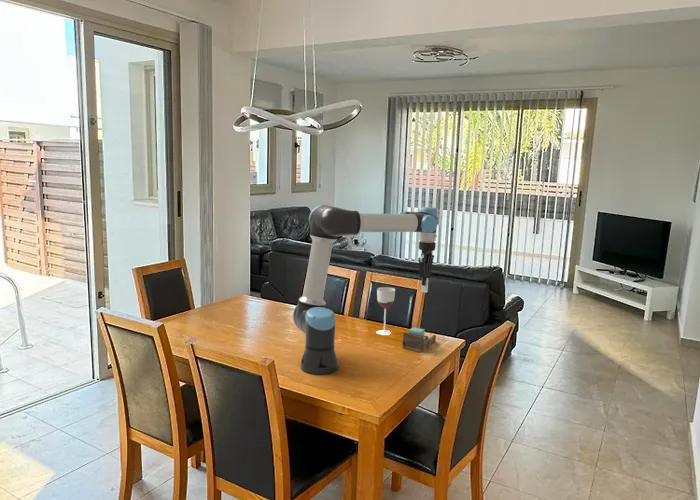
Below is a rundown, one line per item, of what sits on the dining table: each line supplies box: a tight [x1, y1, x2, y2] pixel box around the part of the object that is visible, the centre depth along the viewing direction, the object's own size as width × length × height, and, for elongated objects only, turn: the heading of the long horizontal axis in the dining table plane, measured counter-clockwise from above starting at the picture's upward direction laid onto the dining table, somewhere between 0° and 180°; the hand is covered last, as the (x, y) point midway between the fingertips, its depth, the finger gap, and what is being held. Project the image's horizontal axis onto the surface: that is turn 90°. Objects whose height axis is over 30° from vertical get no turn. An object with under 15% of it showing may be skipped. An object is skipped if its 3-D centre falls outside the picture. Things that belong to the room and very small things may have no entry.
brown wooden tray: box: [402, 331, 437, 353], centre depth 235 cm, size 17×9×7 cm, turn 148°
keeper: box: [408, 326, 426, 342], centre depth 232 cm, size 5×6×7 cm
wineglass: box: [375, 286, 396, 336], centre depth 251 cm, size 9×10×22 cm
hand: (424, 291), depth 236 cm, fingers closed
